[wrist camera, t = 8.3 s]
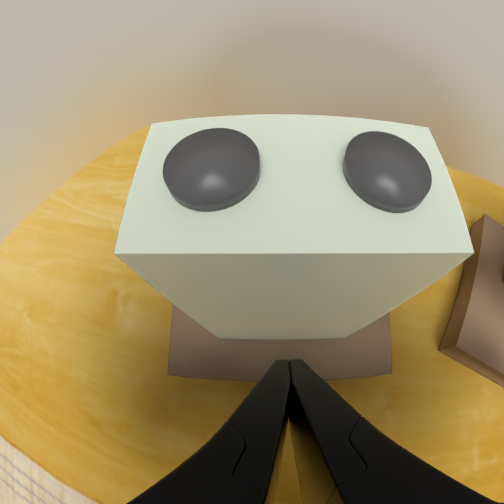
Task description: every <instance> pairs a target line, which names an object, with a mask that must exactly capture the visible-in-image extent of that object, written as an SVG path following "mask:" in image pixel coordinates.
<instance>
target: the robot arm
mask: <svg viewBox="0 0 504 504" xmlns="http://www.w3.org/2000/svg"><path fill="white" fill-rule="evenodd" d="M288 418H289V427H290V432H291V438H292V444H293V450H294V455H295V461H296V467H297V473H298V478H299V484H300V490H301V496H302V502H303V504H504V503H498V502H495V501H493V500H491V499H489V498H487V497H485V496H483V495H481V494H479V493H477V492H476V491H474V490H472V489H470V488H468V487H467V486H465V485H463V484H461V483H459V482H458V481H456V480H454V479H453V478H451V477H449V476H447V475H446V474H444V473H442V472H441V471H439V470H437V469H436V468H434V467H433V466H431V465H429V464H428V463H426V462H424V461H423V460H421V459H420V458H418V457H417V456H415V455H413V454H412V453H410V452H409V451H407V450H406V449H404V448H403V447H401V446H400V445H398V444H397V443H395V442H394V441H393V440H391V439H390V438H388V437H387V436H386V435H384V434H383V433H382V432H380V431H379V430H378V429H377V428H376V427H374V426H373V425H372V424H371V423H370V422H369V421H368V420H366V419H365V418H364V417H362V416H361V415H360V414H359V413H358V412H357V411H356V410H355V409H354V408H353V407H352V406H351V405H350V404H348V403H347V402H346V401H345V400H344V399H343V398H342V397H341V396H340V395H339V394H338V393H337V392H336V391H335V390H334V389H333V388H331V387H330V386H329V385H328V384H327V383H326V382H325V381H324V380H323V379H322V378H321V377H320V376H319V375H318V374H317V373H316V372H315V371H314V370H313V369H312V368H311V367H310V366H309V365H308V364H307V363H305V362H304V361H303V360H302V359H290V360H289V361H288V360H287V359H276V360H275V361H274V362H273V363H272V365H271V366H270V367H269V369H268V370H267V371H266V373H265V374H264V375H263V377H262V378H261V379H260V381H259V382H258V383H257V384H256V386H255V387H254V388H253V390H252V391H251V392H250V393H249V395H248V396H247V397H246V398H245V400H244V401H243V402H242V403H241V405H240V406H239V407H238V408H237V409H236V411H235V412H234V413H233V414H232V416H231V417H230V418H229V419H228V421H226V422H225V423H224V425H223V426H222V427H221V428H220V429H219V430H218V431H217V433H216V434H215V435H214V436H213V437H212V438H211V439H210V440H209V441H208V442H207V443H206V444H205V445H203V446H202V447H201V448H200V449H199V450H198V451H197V452H196V453H194V454H193V455H192V456H191V457H189V458H188V459H187V460H186V461H184V462H183V463H182V464H181V465H179V466H178V467H177V468H175V469H174V470H173V471H172V472H170V473H169V474H168V475H166V476H165V477H164V478H162V479H161V480H160V481H158V482H157V483H156V484H154V485H153V486H151V487H150V488H149V489H147V490H146V491H144V492H143V493H141V494H140V495H139V496H137V497H136V498H134V499H133V500H131V501H130V502H128V503H127V504H274V500H275V495H276V490H277V485H278V479H279V474H280V468H281V462H282V457H283V451H284V444H285V438H286V432H287V425H288Z"/></svg>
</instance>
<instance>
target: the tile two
mask: <svg viewBox="0 0 504 504" xmlns="http://www.w3.org/2000/svg"><path fill="white" fill-rule="evenodd" d="M114 254H115V255H116V256H117V257H118V258H119V259H121V260H122V261H123V262H124V263H125V264H126V265H127V266H129V267H130V268H131V269H132V270H133V271H134V272H135V273H137V274H138V275H139V276H140V277H141V278H142V279H144V280H145V281H146V282H147V283H148V284H150V285H151V286H152V287H153V288H154V289H156V290H157V291H158V292H159V293H161V294H162V295H163V296H164V297H165V298H167V299H168V300H169V301H170V302H172V303H173V304H174V305H175V306H177V307H178V308H179V309H181V310H182V311H183V312H184V313H186V314H187V315H188V316H190V317H191V318H192V319H193V320H195V321H196V322H197V323H199V324H200V325H201V326H203V327H204V328H205V329H207V330H208V331H209V332H211V333H212V334H213V335H215V336H216V337H218V338H223V339H267V340H284V339H328V338H345V337H347V336H349V335H351V334H353V333H354V332H356V331H358V330H360V329H362V328H363V327H365V326H367V325H369V324H370V323H372V322H374V321H375V320H377V319H379V318H380V317H382V316H384V315H385V314H387V313H389V312H390V311H392V310H393V309H395V308H397V307H398V306H400V305H401V304H403V303H405V302H406V301H408V300H409V299H411V298H412V297H414V296H415V295H417V294H418V293H420V292H421V291H423V290H424V289H426V288H427V287H429V286H430V285H432V284H433V283H434V282H436V281H437V280H439V279H440V278H442V277H443V276H444V275H446V274H447V273H448V272H450V271H451V270H453V269H454V268H455V267H457V266H458V265H459V264H461V263H462V262H463V261H465V260H466V259H467V258H468V257H470V256H471V255H472V254H474V250H473V246H472V242H471V238H470V235H469V231H468V228H467V225H466V221H465V218H464V215H463V212H462V209H461V206H460V203H459V200H458V197H457V194H456V191H455V189H454V186H453V183H452V181H451V178H450V176H449V173H448V171H447V168H446V166H445V163H444V161H443V159H442V156H441V154H440V152H439V150H438V148H437V145H436V143H435V141H434V139H433V137H432V135H431V133H430V131H429V129H428V128H426V127H420V126H414V125H408V124H402V123H395V122H388V121H380V120H370V119H362V118H350V117H337V116H320V115H288V114H282V115H281V114H278V115H277V114H270V115H237V116H236V115H235V116H219V117H205V118H194V119H185V120H176V121H168V122H160V123H153V124H152V125H151V128H150V130H149V133H148V136H147V139H146V141H145V144H144V147H143V150H142V153H141V156H140V159H139V162H138V165H137V168H136V171H135V175H134V178H133V181H132V185H131V188H130V191H129V195H128V198H127V202H126V206H125V209H124V213H123V217H122V221H121V225H120V229H119V233H118V238H117V242H116V246H115V251H114Z"/></svg>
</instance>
